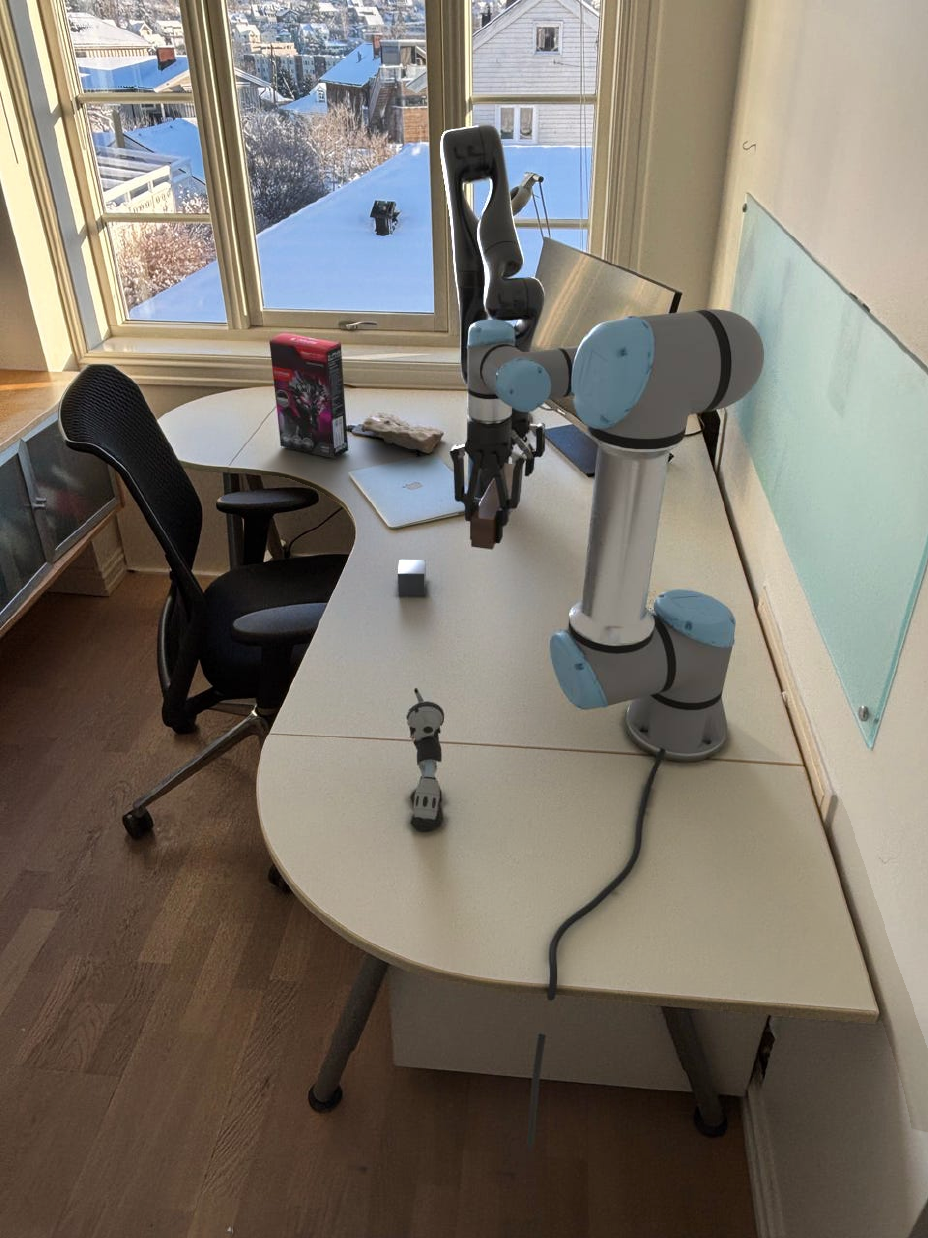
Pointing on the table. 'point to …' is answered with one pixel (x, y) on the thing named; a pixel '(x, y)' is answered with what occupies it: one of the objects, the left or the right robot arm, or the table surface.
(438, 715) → the robot
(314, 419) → the graphics card box
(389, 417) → the stone
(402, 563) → the slate cube
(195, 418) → the table surface
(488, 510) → the walnut bar
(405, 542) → the table surface
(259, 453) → the table surface
